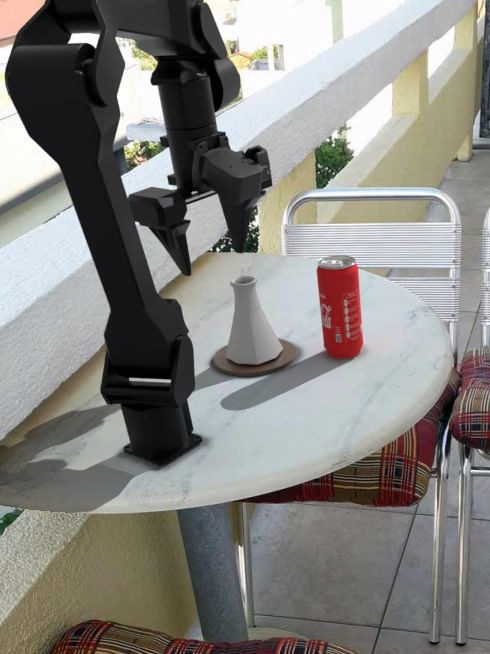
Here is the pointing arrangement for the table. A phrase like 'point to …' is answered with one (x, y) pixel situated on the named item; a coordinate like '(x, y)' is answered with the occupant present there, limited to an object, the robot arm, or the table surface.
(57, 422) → the table surface
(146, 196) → the robot arm
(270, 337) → the flask
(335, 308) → the beverage can
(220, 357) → the coaster
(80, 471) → the table surface
